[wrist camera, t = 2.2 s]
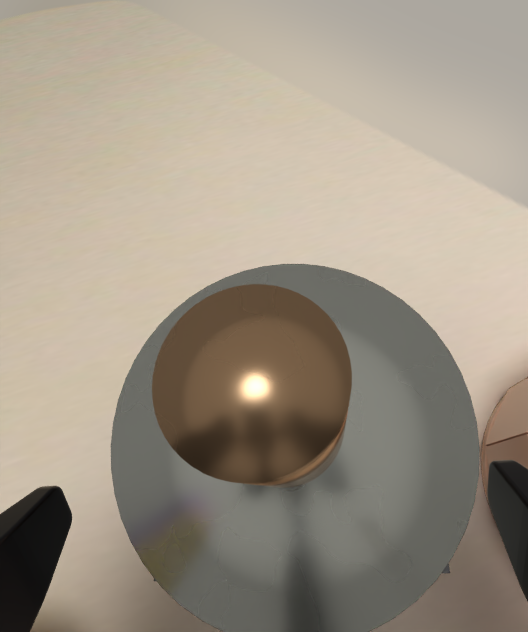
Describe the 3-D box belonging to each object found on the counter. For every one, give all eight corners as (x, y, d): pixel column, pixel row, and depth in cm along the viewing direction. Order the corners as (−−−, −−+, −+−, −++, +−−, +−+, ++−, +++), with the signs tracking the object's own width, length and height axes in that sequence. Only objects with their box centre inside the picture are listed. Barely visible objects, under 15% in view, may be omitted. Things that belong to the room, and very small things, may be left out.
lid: (560, 501, 12) (792, 509, 6) (206, 728, 11) (55, 1007, 5) (337, 224, 17) (340, 74, 11) (80, 369, 16) (-73, 294, 10)
